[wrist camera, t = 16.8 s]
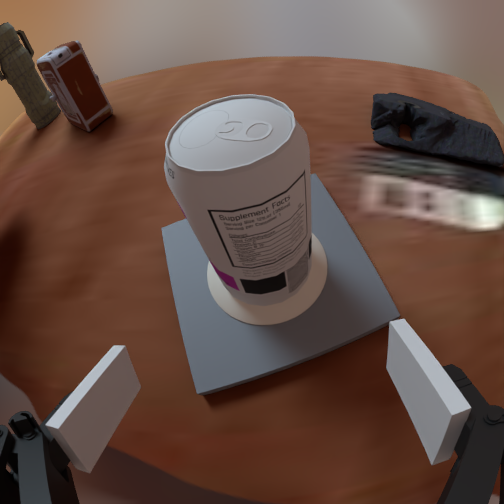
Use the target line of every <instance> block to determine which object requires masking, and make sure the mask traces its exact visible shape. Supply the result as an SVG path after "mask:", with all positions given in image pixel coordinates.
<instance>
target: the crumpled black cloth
mask: <svg viewBox="0 0 504 504" xmlns="http://www.w3.org/2000/svg"><path fill="white" fill-rule="evenodd" d="M373 101H374V102H373V110H372V118H371V125H372V127H371V128H372V129H375V131H373V134H374V140H375V141H376V142H378V143H379V144H383V145H386V146H388V145H389V144H390V145H394V146H399V147H403V148H405V149H410V150H413V151H419V152H424V153H427V154H429V153H431V154H432V155H446V156H449V157H452V158H458V159H459V160H466V161H471V162H474V163H481V164H484V163H485V164H488V165H493V166H498V167H501V166H503V164H504V154H503V151H502V148H501V146H500V142H499V140H498V138H497V136H496V134H495V133H494V132H493V130H492V129H491V128H490V127H489V126H488V125H487V124H484V123H480V122H477V121H473V120H471V119H466V118H465V117H462V116H460V115H458V114H455V113H454V112H453V113H454V114H453V113H452V112H450V111H449V110H447V109H446V108H442V107H440V106H436V105H434V104H432V103H429V102H425V101H422V100H419V99H416V98H412V97H409V96H404V95H400V94H397V93H388V94H375V95H373ZM401 123H403V124H406V125H408V126H410V128H411V130H410V134H411V137H412V140H413V141H406V140H404V139H402V138H399V132H400V130H399V126H400V124H401Z"/></svg>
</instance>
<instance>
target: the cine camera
mask: <svg viewBox="0 0 504 504" xmlns="http://www.w3.org/2000/svg"><path fill="white" fill-rule="evenodd" d="M37 66H38V69H39V71H40V72H41V74H42V76H43V78H44V80H45V82H46V83H47V85H48V87H49V89H50V90H51V92H52V94H53V96H51V97H50V99H52V101H53V102H54V101H57V102H58V104H59V106H60V108H61V109H62V111H63V113H64V114H65V116H66V117H67V119H68V120H69V122H70V123H71V124H73V125H75V126H77V127H79V128H81V129H83V130H85V131H88V132H89V131H91V130H93V129H94V128H95V127H96V126H98V125H99V124H100V123H101V122H103V121H104V120H105V119H106V118H108V117H109V116H110V115H111V114H112V113H113V110H112V108H111V105H110V103H109V101H108V99H107V97H106V95H105V93H104V91H103V89H102V87H101V85H100V83H99V78H98V76H97V75H96V74H95V73H94V71H93V69H92V67H91V65H90V63H89V61H88V59H87V57H86V55H85V52H84V50H83V48H82V46H81V44H80V43H79V41H72V42H69V43H65V44H62V45H60V46H58V47H57V48H55V49H54V50H52V51H50V52H48V53H46V54H45V55H44V56H42V57H41V58H39V59H38V60H37Z"/></svg>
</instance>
